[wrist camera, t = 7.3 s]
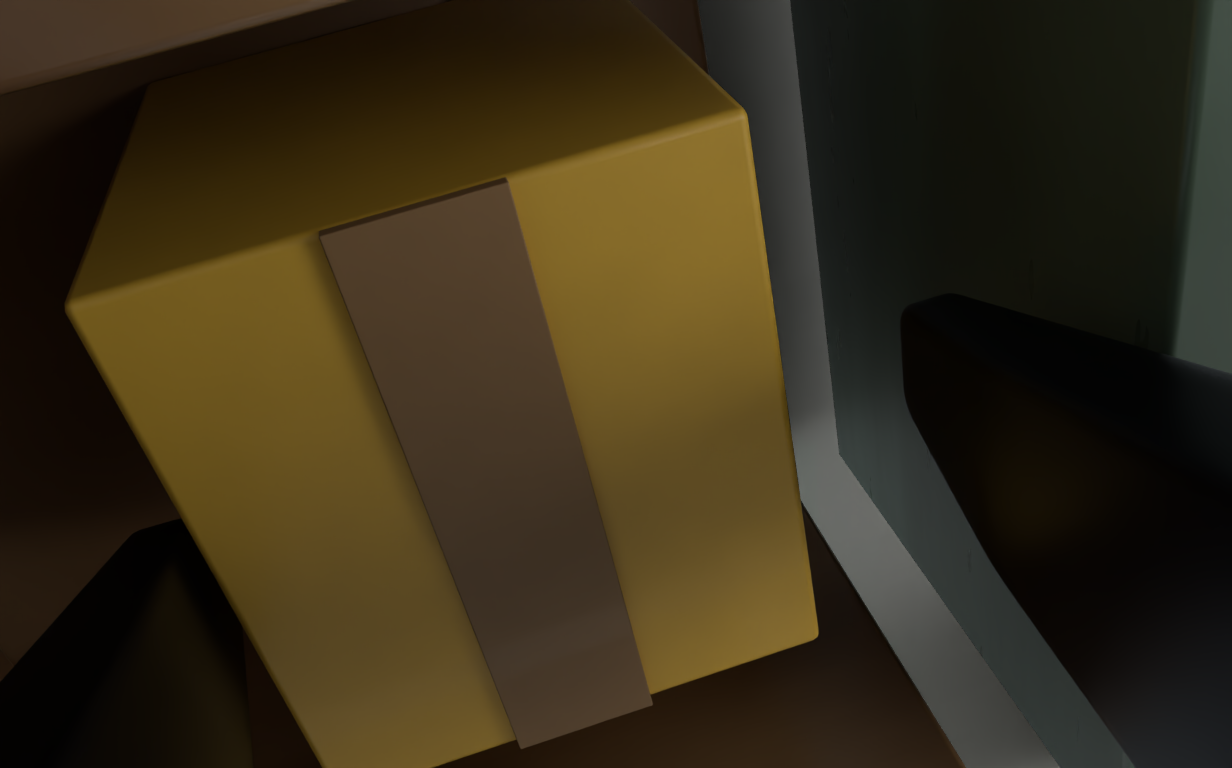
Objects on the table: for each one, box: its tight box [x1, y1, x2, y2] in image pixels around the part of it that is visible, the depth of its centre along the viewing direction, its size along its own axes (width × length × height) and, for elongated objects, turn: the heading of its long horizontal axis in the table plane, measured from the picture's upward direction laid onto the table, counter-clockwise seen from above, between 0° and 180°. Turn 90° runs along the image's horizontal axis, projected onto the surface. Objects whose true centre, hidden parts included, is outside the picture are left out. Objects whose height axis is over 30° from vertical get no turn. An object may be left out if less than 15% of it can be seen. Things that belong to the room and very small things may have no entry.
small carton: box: [65, 0, 818, 768], centre depth 10 cm, size 5×4×5 cm
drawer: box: [0, 0, 1232, 768], centre depth 10 cm, size 14×11×7 cm
